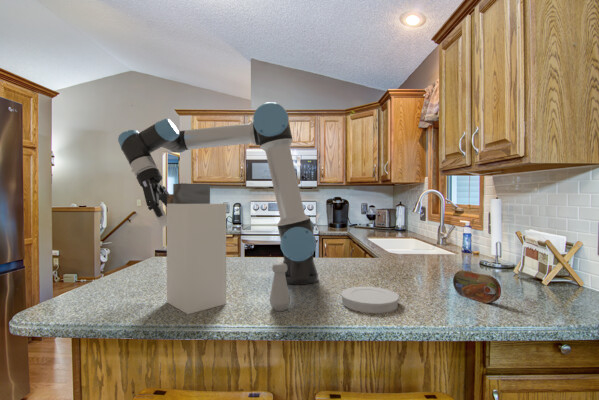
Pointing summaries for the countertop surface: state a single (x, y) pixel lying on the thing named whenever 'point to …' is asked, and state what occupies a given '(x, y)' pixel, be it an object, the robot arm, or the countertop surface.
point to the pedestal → (196, 256)
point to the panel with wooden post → (189, 194)
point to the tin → (477, 286)
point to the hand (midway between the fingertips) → (174, 226)
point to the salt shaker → (279, 288)
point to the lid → (370, 299)
